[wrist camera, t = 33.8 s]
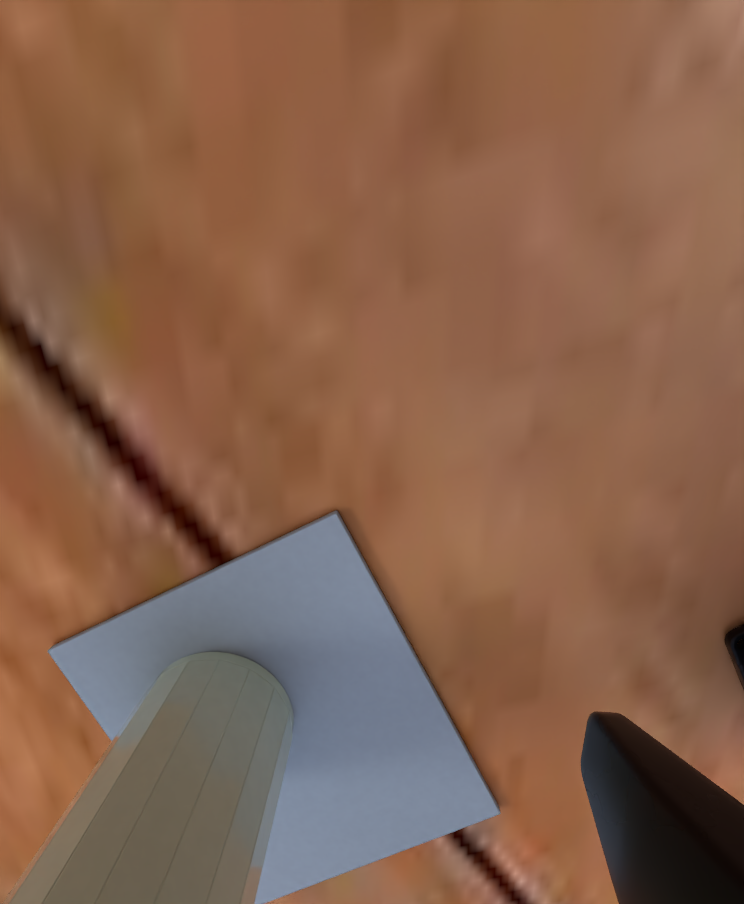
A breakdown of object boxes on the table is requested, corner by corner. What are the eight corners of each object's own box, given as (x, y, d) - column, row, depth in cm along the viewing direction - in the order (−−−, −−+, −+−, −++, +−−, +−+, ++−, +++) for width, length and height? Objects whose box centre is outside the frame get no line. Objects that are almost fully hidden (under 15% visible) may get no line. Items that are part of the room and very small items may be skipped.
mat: (499, 806, 23) (500, 814, 23) (237, 905, 25) (234, 915, 25) (337, 509, 20) (336, 512, 20) (52, 645, 22) (46, 651, 22)
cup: (320, 747, 22) (265, 1091, 12) (194, 798, 23) (44, 1161, 13) (247, 627, 21) (120, 897, 11) (117, 686, 22) (-115, 989, 12)
